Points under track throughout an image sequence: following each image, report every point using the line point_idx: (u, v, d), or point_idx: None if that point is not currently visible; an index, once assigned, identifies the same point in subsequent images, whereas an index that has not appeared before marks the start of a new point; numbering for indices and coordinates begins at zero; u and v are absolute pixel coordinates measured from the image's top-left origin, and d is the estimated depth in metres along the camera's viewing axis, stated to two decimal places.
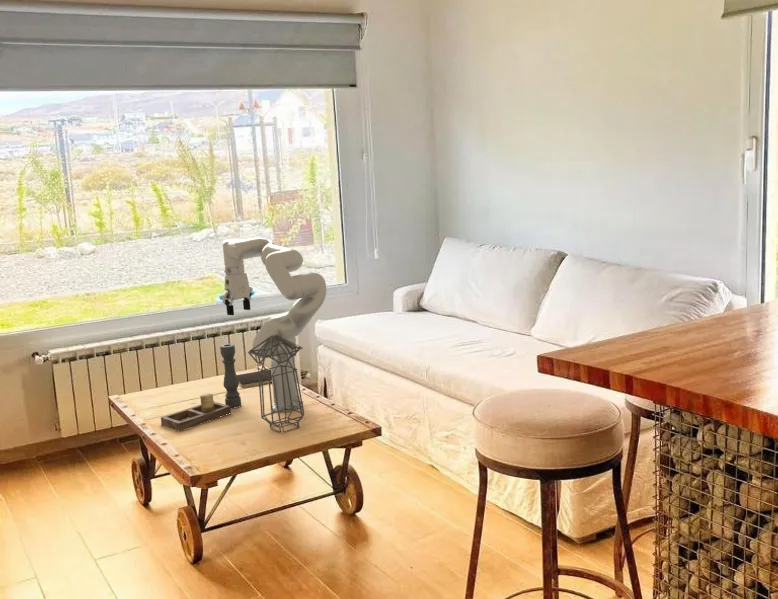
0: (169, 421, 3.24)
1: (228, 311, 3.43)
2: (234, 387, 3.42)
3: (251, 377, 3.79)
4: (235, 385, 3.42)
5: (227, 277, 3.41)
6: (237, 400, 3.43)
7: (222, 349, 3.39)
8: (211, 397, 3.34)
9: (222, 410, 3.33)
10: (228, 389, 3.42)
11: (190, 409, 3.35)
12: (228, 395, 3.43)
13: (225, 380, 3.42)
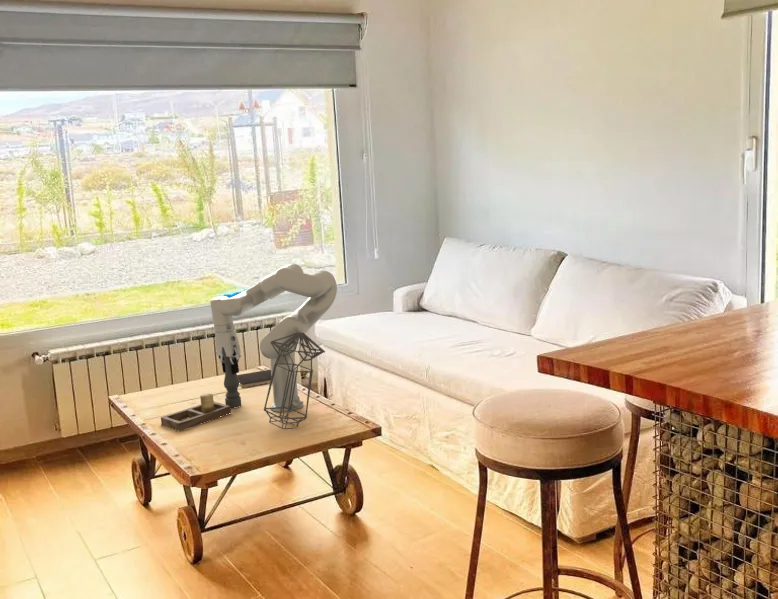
0: (169, 421, 3.24)
1: (236, 369, 3.40)
2: (234, 387, 3.42)
3: (251, 377, 3.79)
4: (235, 385, 3.42)
5: (231, 333, 3.37)
6: (237, 400, 3.43)
7: (223, 349, 3.39)
8: (211, 397, 3.34)
9: (222, 410, 3.33)
10: (228, 389, 3.42)
11: (190, 409, 3.35)
12: (228, 395, 3.43)
13: (225, 380, 3.42)
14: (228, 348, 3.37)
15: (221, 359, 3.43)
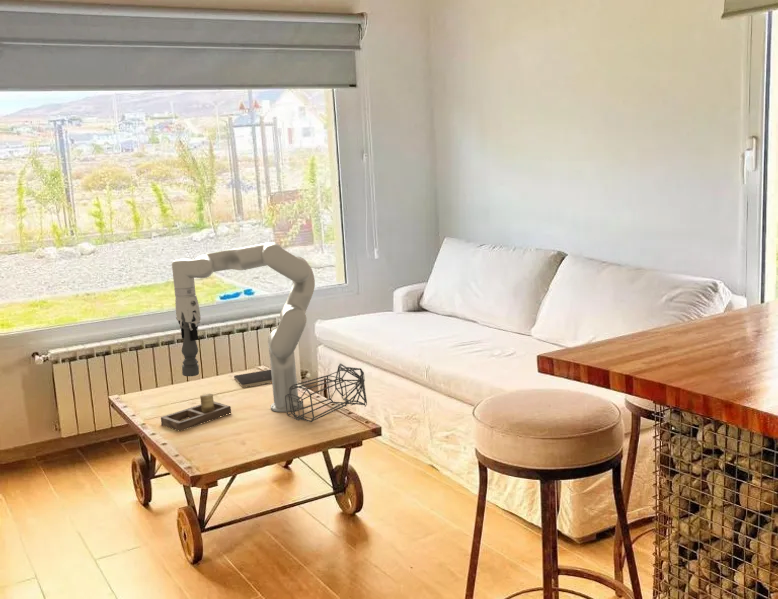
0: (169, 421, 3.24)
1: (195, 336, 3.25)
2: (192, 354, 3.27)
3: (251, 377, 3.79)
4: (193, 352, 3.27)
5: (192, 298, 3.21)
6: (194, 368, 3.28)
7: (183, 314, 3.23)
8: (211, 397, 3.34)
9: (222, 410, 3.33)
10: (186, 356, 3.27)
11: (190, 409, 3.35)
12: (185, 362, 3.28)
13: (183, 346, 3.27)
14: (187, 313, 3.21)
15: (180, 324, 3.28)
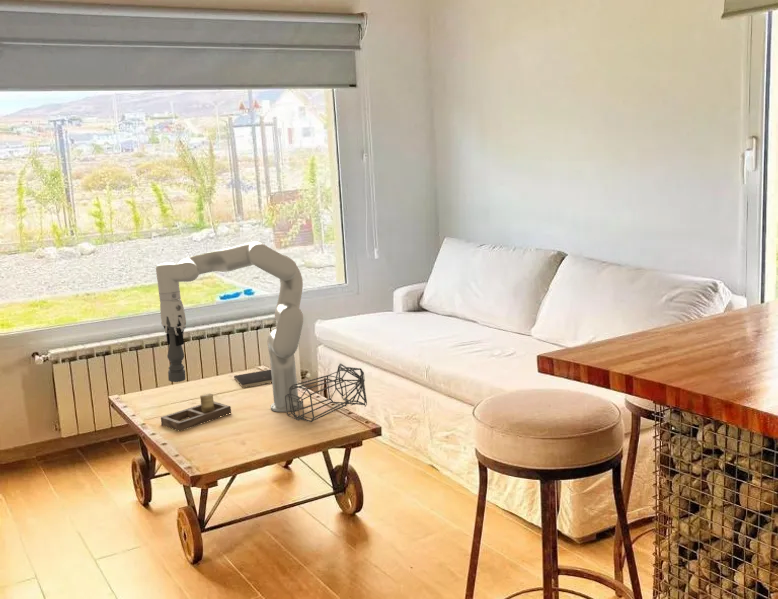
0: (169, 421, 3.24)
1: (180, 341, 3.20)
2: (178, 360, 3.22)
3: (251, 377, 3.79)
4: (179, 358, 3.22)
5: (177, 302, 3.17)
6: (181, 374, 3.24)
7: (168, 319, 3.19)
8: (211, 397, 3.34)
9: (222, 410, 3.33)
10: (172, 361, 3.23)
11: (190, 409, 3.35)
12: (171, 368, 3.23)
13: (169, 352, 3.22)
14: (172, 318, 3.17)
15: (166, 329, 3.23)
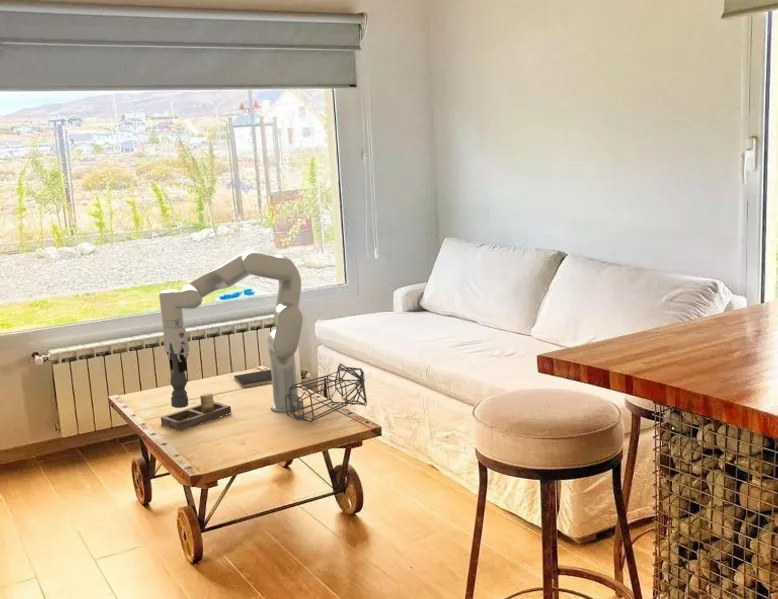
0: (169, 421, 3.24)
1: (183, 367, 3.22)
2: (181, 386, 3.24)
3: (251, 377, 3.79)
4: (182, 384, 3.24)
5: (180, 329, 3.19)
6: (184, 399, 3.26)
7: (171, 345, 3.21)
8: (211, 397, 3.34)
9: (222, 410, 3.33)
10: (175, 387, 3.24)
11: (190, 409, 3.35)
12: (174, 394, 3.25)
13: (172, 378, 3.24)
14: (176, 345, 3.19)
15: (169, 356, 3.25)
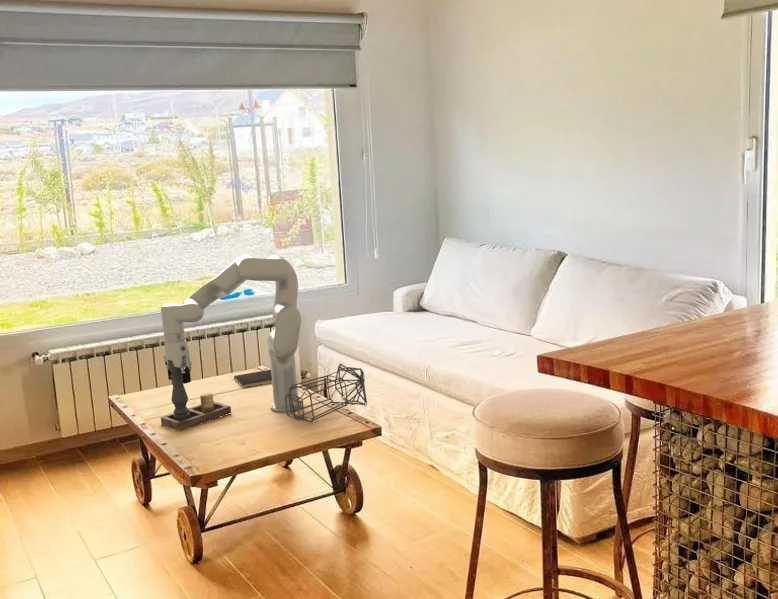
0: (169, 421, 3.24)
1: (187, 379, 3.21)
2: (182, 403, 3.26)
3: (251, 377, 3.79)
4: (183, 401, 3.26)
5: (182, 343, 3.20)
6: (185, 417, 3.27)
7: (169, 363, 3.23)
8: (211, 397, 3.34)
9: (222, 410, 3.33)
10: (176, 405, 3.26)
11: (190, 409, 3.35)
12: (176, 411, 3.27)
13: (173, 395, 3.26)
14: (177, 358, 3.20)
15: (167, 366, 3.27)
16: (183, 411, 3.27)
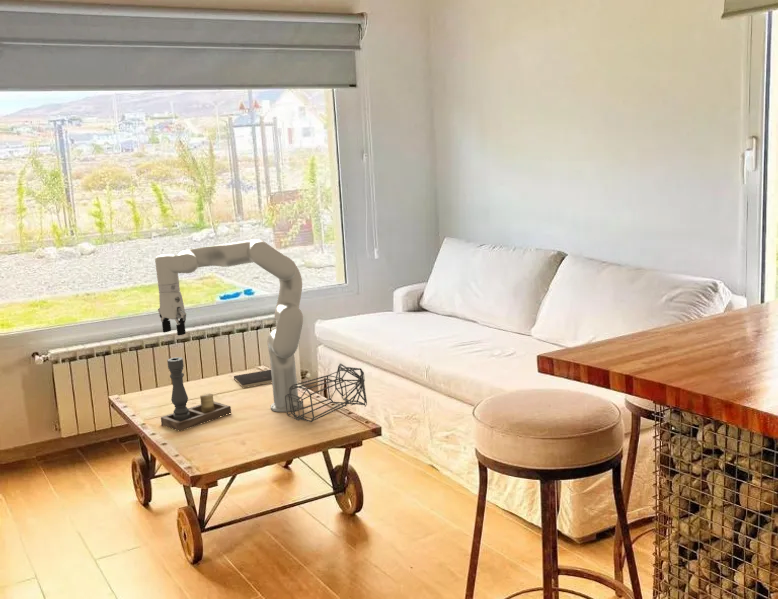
0: (169, 421, 3.24)
1: (182, 330, 3.18)
2: (182, 403, 3.26)
3: (251, 377, 3.79)
4: (183, 401, 3.26)
5: (176, 294, 3.16)
6: (185, 417, 3.27)
7: (169, 363, 3.23)
8: (211, 397, 3.34)
9: (222, 410, 3.33)
10: (176, 405, 3.26)
11: (190, 409, 3.35)
12: (176, 411, 3.27)
13: (173, 396, 3.26)
14: (172, 309, 3.16)
15: (162, 318, 3.23)
16: (183, 411, 3.27)
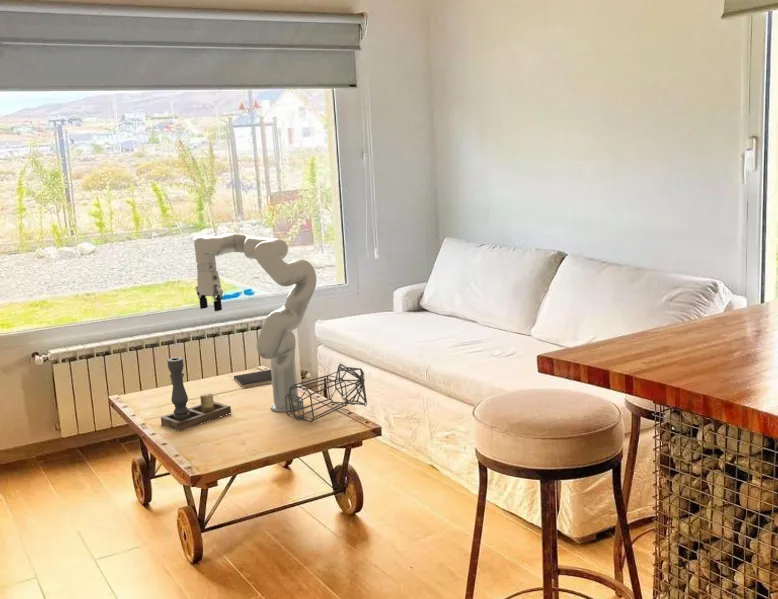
0: (169, 421, 3.24)
1: (219, 306, 3.42)
2: (182, 403, 3.26)
3: (251, 377, 3.79)
4: (183, 401, 3.26)
5: (213, 273, 3.40)
6: (185, 417, 3.27)
7: (169, 363, 3.23)
8: (211, 397, 3.34)
9: (222, 410, 3.33)
10: (176, 405, 3.26)
11: (190, 409, 3.35)
12: (176, 411, 3.27)
13: (173, 396, 3.26)
14: (209, 287, 3.40)
15: (199, 296, 3.47)
16: (183, 411, 3.27)
